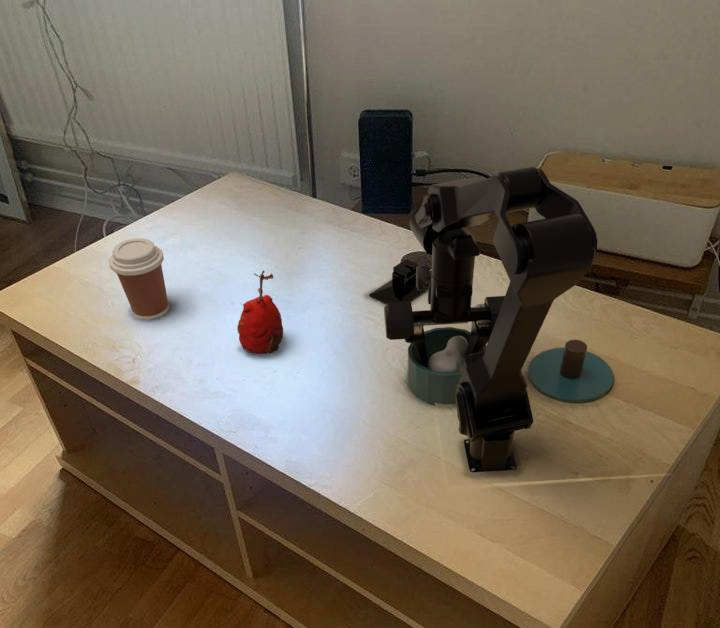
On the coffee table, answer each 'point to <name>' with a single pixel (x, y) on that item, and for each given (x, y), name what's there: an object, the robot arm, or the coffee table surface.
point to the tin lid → (570, 373)
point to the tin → (434, 383)
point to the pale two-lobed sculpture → (450, 356)
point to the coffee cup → (141, 276)
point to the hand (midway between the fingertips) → (447, 364)
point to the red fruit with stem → (260, 323)
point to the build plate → (399, 285)
